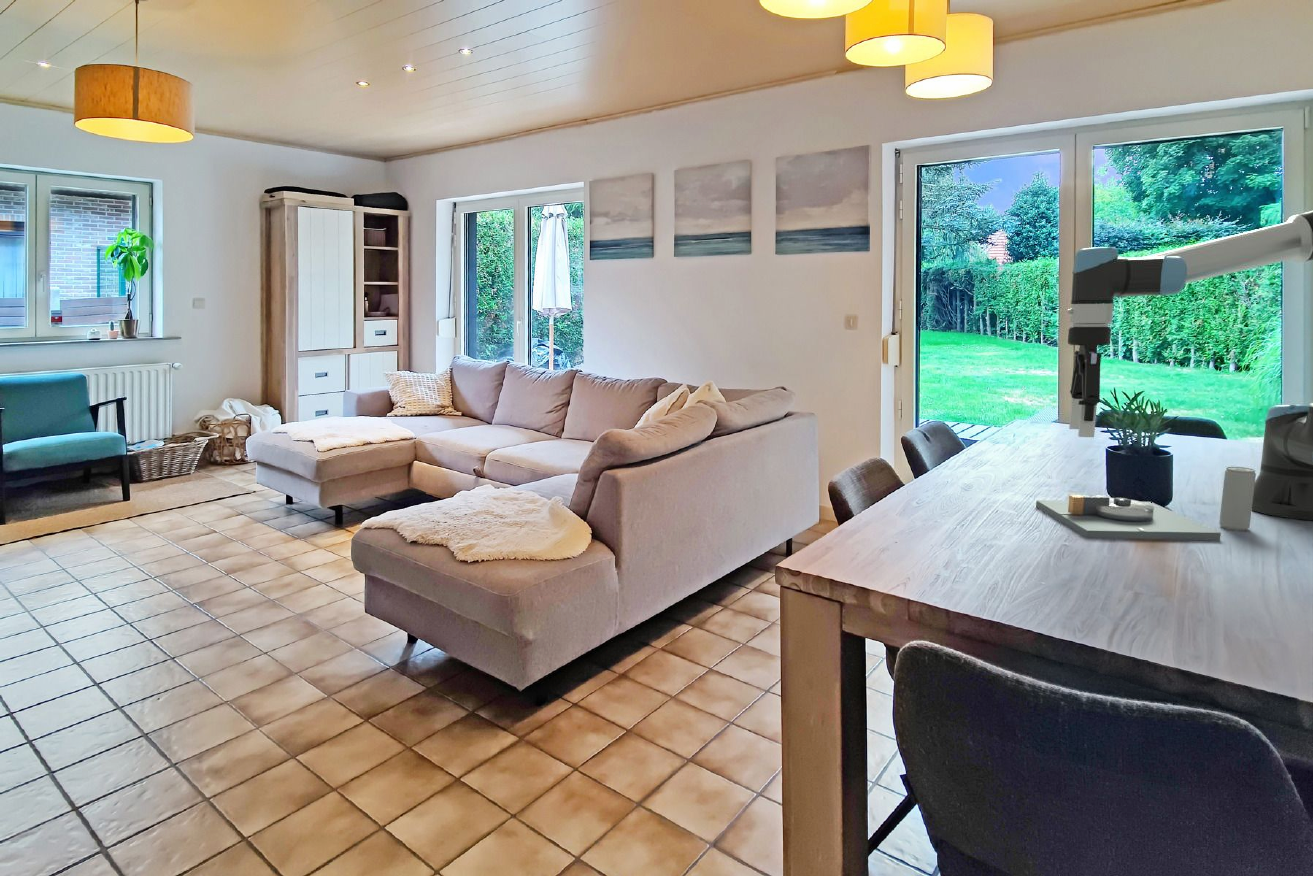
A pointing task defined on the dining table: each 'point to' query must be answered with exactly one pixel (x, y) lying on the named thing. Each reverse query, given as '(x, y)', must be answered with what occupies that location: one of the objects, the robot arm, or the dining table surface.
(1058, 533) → the dining table surface
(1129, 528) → the dial board
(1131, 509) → the dial
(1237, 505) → the beverage can
